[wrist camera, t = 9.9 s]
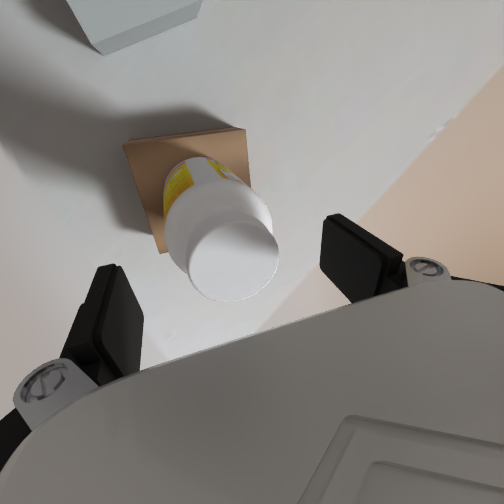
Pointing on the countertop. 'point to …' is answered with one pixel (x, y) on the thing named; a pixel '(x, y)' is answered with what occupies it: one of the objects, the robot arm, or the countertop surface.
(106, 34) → the slate block
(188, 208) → the supplement bottle
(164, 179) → the walnut block
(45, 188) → the countertop surface
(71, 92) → the countertop surface
